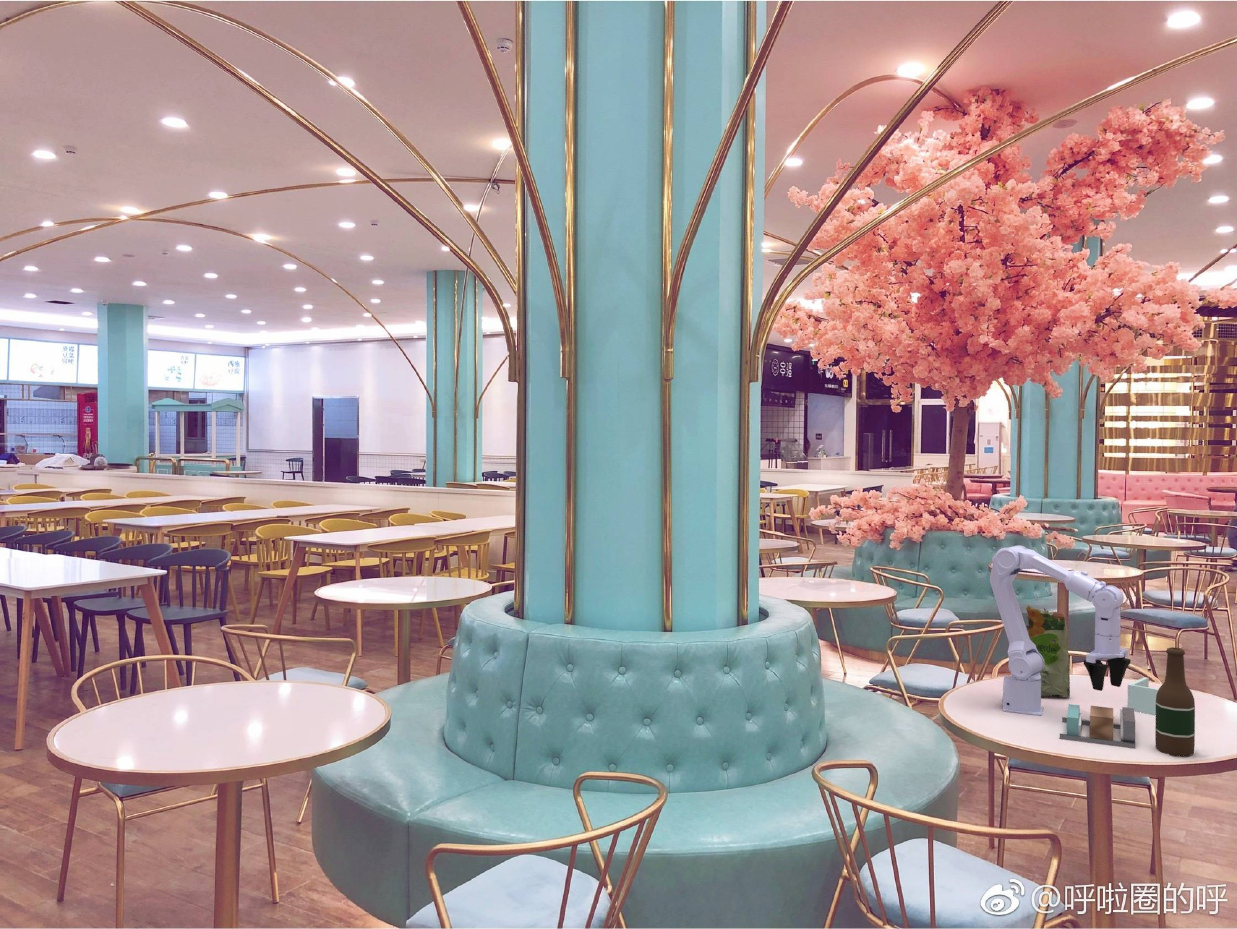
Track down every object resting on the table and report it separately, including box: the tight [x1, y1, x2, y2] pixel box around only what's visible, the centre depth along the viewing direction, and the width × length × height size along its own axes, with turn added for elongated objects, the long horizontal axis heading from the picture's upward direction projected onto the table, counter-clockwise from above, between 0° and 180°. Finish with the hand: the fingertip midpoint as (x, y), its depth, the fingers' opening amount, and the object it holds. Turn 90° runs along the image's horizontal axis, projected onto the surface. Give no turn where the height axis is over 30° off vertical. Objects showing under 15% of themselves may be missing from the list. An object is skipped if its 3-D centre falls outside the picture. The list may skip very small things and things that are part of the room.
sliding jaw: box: [1066, 703, 1083, 736], centre depth 229 cm, size 3×13×5 cm, turn 152°
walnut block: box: [1089, 705, 1114, 740], centre depth 226 cm, size 5×10×6 cm, turn 152°
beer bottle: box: [1154, 647, 1196, 758], centre depth 214 cm, size 8×8×24 cm
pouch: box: [1025, 605, 1071, 698], centre depth 264 cm, size 11×12×25 cm
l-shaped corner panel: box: [1127, 677, 1159, 716], centre depth 248 cm, size 12×12×8 cm
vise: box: [1059, 706, 1136, 750], centre depth 227 cm, size 16×16×6 cm
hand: (1106, 687), depth 234 cm, fingers open, 7 cm apart
